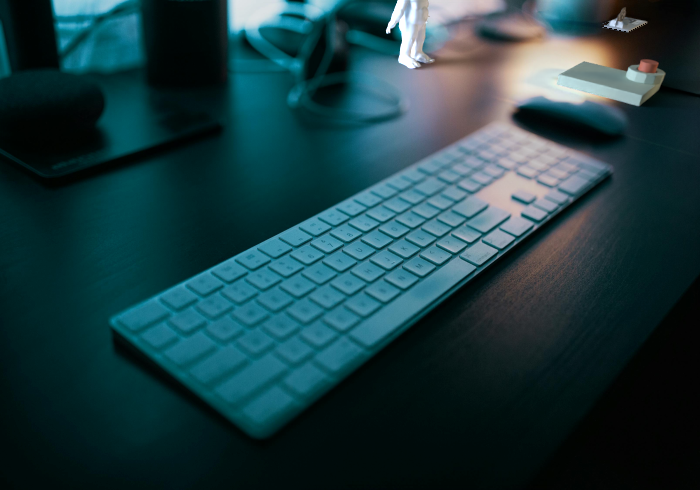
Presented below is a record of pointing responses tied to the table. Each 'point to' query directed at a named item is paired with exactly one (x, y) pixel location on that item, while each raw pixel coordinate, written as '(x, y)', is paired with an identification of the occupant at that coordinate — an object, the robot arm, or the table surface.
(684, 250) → the table surface
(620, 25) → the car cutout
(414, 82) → the table surface
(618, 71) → the scale
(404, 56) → the toy creature
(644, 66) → the button
